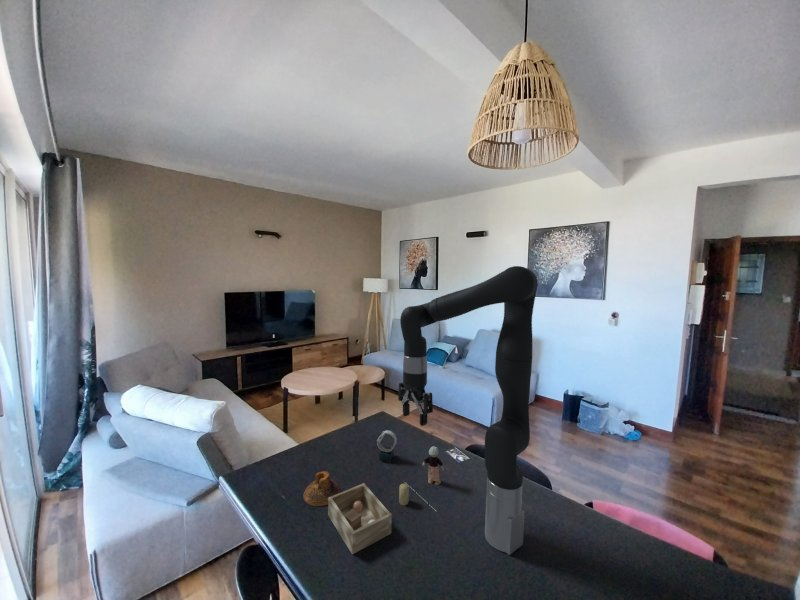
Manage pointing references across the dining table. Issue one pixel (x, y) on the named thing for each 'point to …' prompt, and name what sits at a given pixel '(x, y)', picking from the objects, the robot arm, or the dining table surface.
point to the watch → (386, 452)
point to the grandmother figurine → (433, 466)
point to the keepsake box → (370, 511)
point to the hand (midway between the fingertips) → (414, 420)
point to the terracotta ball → (357, 506)
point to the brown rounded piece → (321, 490)
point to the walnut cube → (353, 519)
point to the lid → (405, 494)
